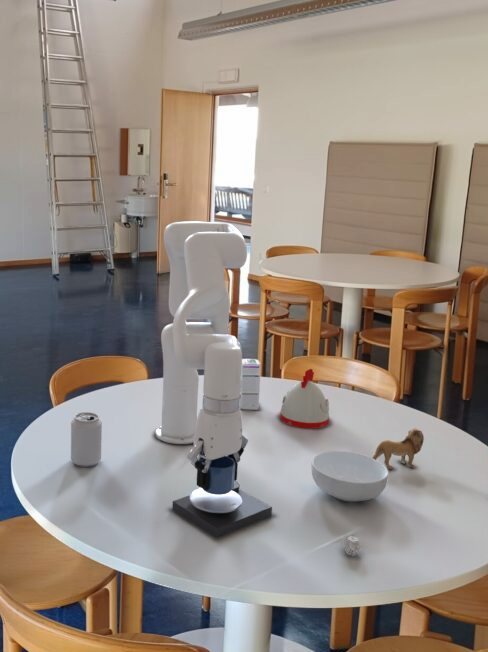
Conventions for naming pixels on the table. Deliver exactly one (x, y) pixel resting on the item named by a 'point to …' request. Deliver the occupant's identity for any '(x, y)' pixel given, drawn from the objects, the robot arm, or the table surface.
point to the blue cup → (221, 475)
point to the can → (86, 439)
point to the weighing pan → (215, 501)
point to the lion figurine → (401, 448)
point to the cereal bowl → (349, 475)
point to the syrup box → (250, 384)
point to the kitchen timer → (305, 404)
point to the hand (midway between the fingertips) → (216, 482)
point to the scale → (224, 514)
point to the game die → (352, 545)
